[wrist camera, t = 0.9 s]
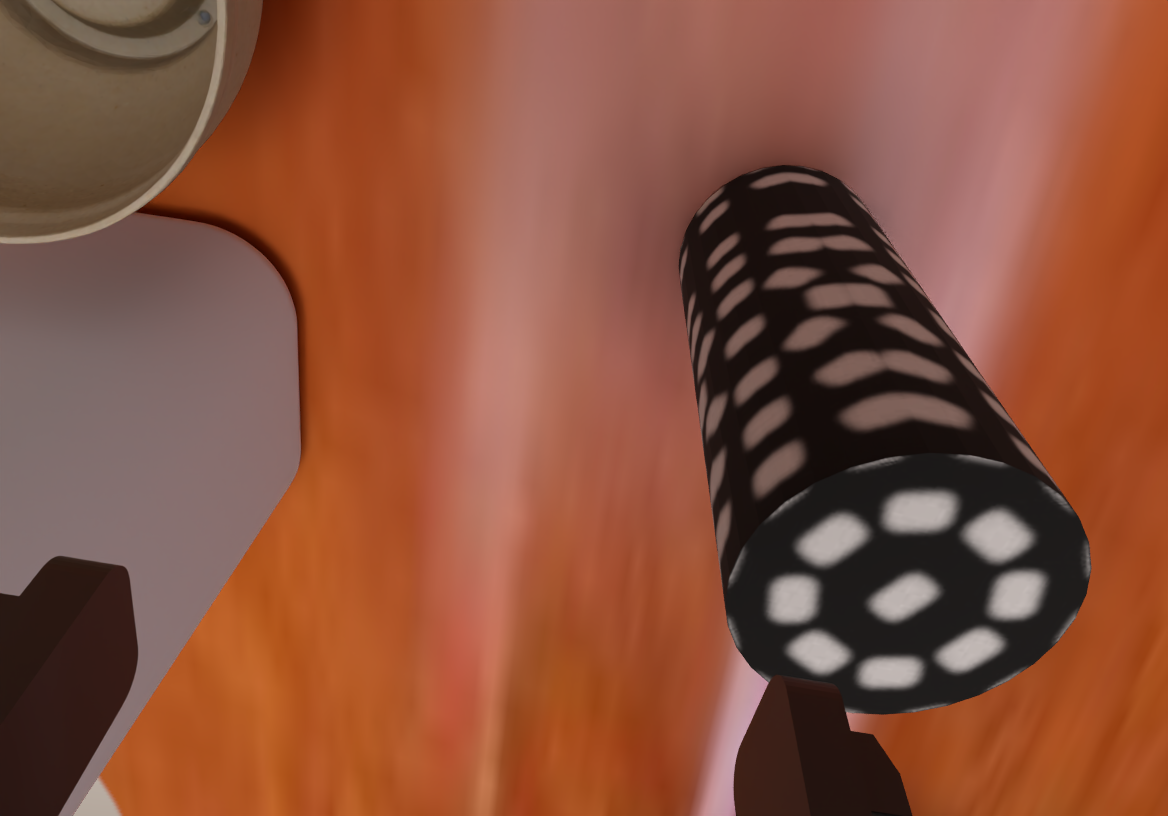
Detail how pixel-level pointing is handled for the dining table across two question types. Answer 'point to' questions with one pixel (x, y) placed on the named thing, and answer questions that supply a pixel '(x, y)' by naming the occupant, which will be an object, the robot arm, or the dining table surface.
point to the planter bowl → (109, 104)
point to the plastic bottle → (144, 421)
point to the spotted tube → (862, 461)
